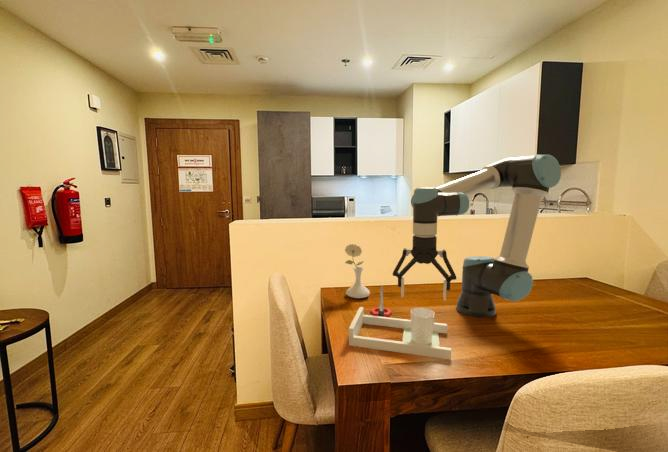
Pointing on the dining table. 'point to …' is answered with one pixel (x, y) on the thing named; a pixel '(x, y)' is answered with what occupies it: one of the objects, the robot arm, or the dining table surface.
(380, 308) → the red ring on peg
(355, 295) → the flower in vase
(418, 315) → the white cup
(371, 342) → the bay
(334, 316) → the dining table surface
